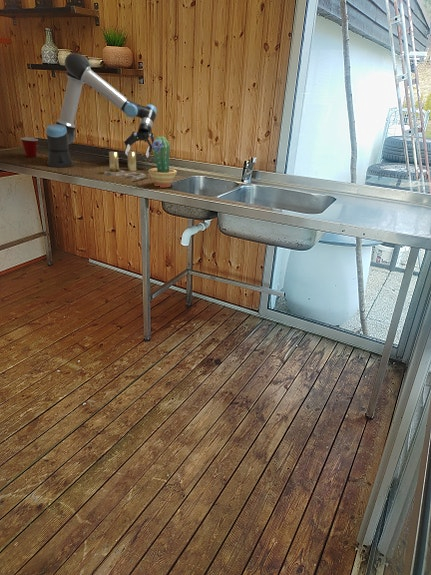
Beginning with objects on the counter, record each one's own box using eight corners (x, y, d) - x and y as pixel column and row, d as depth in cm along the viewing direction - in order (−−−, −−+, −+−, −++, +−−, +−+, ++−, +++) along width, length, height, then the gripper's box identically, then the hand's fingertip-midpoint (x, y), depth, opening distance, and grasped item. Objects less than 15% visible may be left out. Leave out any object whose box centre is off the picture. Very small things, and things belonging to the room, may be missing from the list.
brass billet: (126, 172, 244) (125, 151, 239) (131, 171, 248) (130, 150, 243) (133, 173, 242) (132, 152, 237) (138, 172, 246) (137, 151, 241)
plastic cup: (36, 158, 269) (34, 139, 263) (20, 157, 268) (17, 138, 263) (43, 156, 278) (40, 137, 273) (27, 155, 278) (24, 136, 273)
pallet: (100, 176, 228) (100, 171, 227) (115, 173, 240) (115, 168, 239) (134, 182, 220) (133, 177, 219) (148, 178, 232) (148, 173, 230)
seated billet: (108, 173, 231) (107, 152, 225) (113, 172, 235) (112, 151, 230) (115, 174, 229) (114, 153, 224) (120, 173, 233) (119, 152, 228)
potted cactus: (143, 183, 218) (142, 135, 207) (167, 181, 227) (167, 134, 215) (156, 189, 207) (156, 138, 196) (182, 187, 216) (183, 138, 205)
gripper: (165, 133, 252) (157, 161, 246) (129, 129, 257) (120, 157, 251) (162, 124, 245) (153, 153, 239) (125, 121, 250) (115, 149, 244)
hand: (136, 155), depth 245 cm, fingers open, 13 cm apart
